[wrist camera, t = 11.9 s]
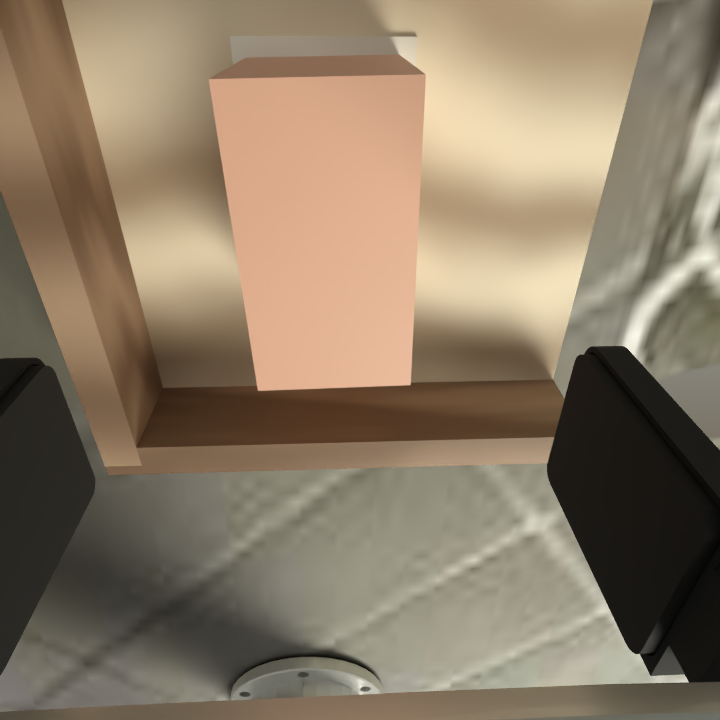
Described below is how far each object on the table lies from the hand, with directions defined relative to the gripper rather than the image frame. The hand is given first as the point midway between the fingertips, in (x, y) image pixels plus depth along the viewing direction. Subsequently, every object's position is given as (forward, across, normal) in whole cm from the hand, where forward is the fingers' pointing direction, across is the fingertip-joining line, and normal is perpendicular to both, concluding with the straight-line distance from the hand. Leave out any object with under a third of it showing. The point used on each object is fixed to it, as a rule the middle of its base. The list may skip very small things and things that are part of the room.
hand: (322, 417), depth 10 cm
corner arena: (+13, 0, -1) cm, 13 cm away
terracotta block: (+12, 0, -1) cm, 12 cm away
